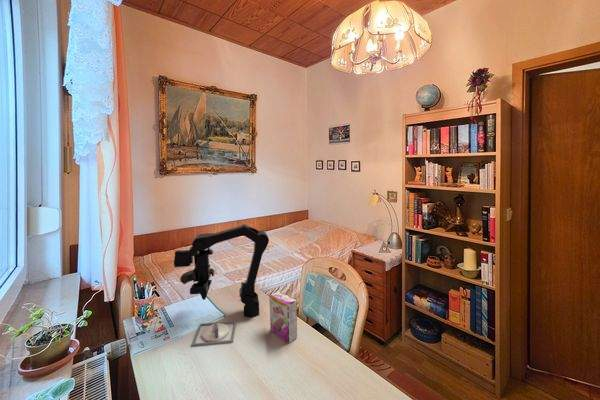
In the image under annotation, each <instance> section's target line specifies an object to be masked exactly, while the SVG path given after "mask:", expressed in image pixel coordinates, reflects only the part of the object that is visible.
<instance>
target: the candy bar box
mask: <svg viewBox="0 0 600 400" xmlns="http://www.w3.org/2000/svg"><path fill="white" fill-rule="evenodd" d="M297 305H298V303H297V300H296V299H295V298H292V297H291V296H289V295H287V294H284V293H283V292H281V291H280V290H277V291H275V292H273V293H270V294H269V315H270V316H269V319H270V320H269V321H270V332H271V333H273V334H274V335H275V336H277V337H278V338H280V339H282V340H283V341H285V342H286V343H287V344H290V343H292V342H293V341H294V340H296V339H298V314H297V313H298V312H297V311H298V306H297ZM291 341H292V342H291Z"/></svg>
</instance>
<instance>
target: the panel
mask: <svg viewBox="0 0 600 400" xmlns="http://www.w3.org/2000/svg"><path fill="white" fill-rule="evenodd" d="M217 323H222V324H225V325H229V324H232V325H233V324H234V325H233V330H232V334H231V335H232V336H231V339H228V340H220V341H215V342H207V341H206V342H196V341H197V338H198V336H199V334H200V331H201V329H202V327H208V326H210V325H212V324H217ZM236 327H237V320H228V321H216V322H215V321H214V322H204V323H203V322H202V323H199V325H198V327H197V331H196V333H195V335H194V338H193V341H192V343H191V347H192V348H193V347H202V346H203V347H206V346H214V345H224V344H234V341H235V340H234V338H235V334H236ZM200 336H201V337H203V336H202V333H201V334H200Z"/></svg>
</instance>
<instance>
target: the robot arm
mask: <svg viewBox="0 0 600 400" xmlns="http://www.w3.org/2000/svg"><path fill="white" fill-rule="evenodd" d="M239 237H245V238H248V239H249V240H250V241H251V242H253V252H252V256H251V260H250V264H249V269H248V272H247V275H246V280H245V281H244V282H243V281H241V282H240V283H241V284H240V287H239V291H238V293H239V298H240V302H241V303H242V304H243V317H244V318H245V317H247V318H252V319H253V318H256V317H257V316H260V300H259V295H258V293H257V292H256V290H255V284H256V281H257V278H258V277H257V276H258V273H259V268H260V264H261V260H262V257H263V255H264V254H263V253H264V252H266V249H267V247H268V245H269V244H270V243H269V242H270V239H269V236H268V234H267V232H266V231H264V230H258V229H256V228H254V227H252V226H249V225H248V224H241V225H238V226H235V227H231V228H228V229H225V230H220V231H218V232H213V233H211V232H210V233H200V234H197V235H196V236H195V237H194V238H193V241H192V244H191V246H190V248H189V249H185V250H179V249H178V250H175V252H174V260H173V265H174V268H185V267H191V264H192V265H193V264H194V269H191V270H189V271H186V272H183V274H182V275H181V276H180V283H182V284H183V285H186V284H188V283H191V282H193V283H192V285H191V286H190V288H189V294H190V295H200V297H201V299H202V300H205V301H206V299H207V296H208V293H209V289H210V287H211V284H212V283H213V282H212V281H213V279H210V278H211V277H214V276H215V270H214V269H213V268H211V264H210V259H209V256H210V255H211V256H212V255H213V254H214V250H213V249H211V247H212V246H214V245H216V244H218V243H222V242H226V241H229V240H233V239H235V238H239Z"/></svg>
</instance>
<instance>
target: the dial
mask: <svg viewBox="0 0 600 400" xmlns="http://www.w3.org/2000/svg"><path fill="white" fill-rule="evenodd" d="M201 334H202V336H201V337H202V340H204V341H206V342H215V341H223V340H224V339H225V338H226V337H227V336H228V335H229V326H228V324H222V323H217V324H212V325H210V326H205V328H204V329H203V330H202V333H201Z"/></svg>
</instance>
